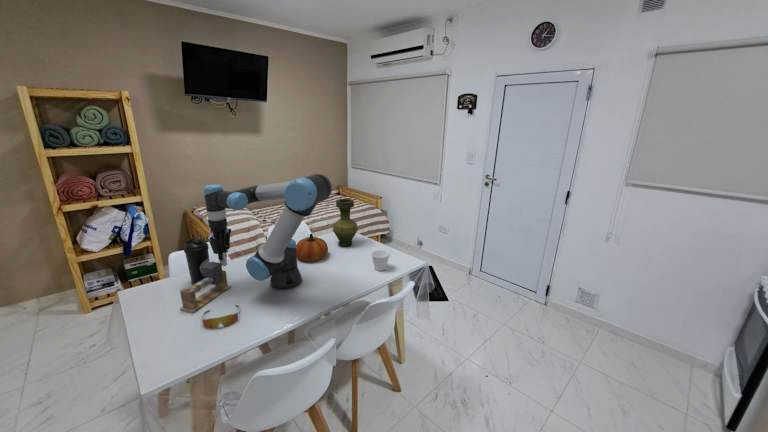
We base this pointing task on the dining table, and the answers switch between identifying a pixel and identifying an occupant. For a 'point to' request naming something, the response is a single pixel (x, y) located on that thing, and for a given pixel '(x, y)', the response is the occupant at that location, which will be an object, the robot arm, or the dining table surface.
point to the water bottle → (196, 258)
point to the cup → (380, 259)
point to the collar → (212, 271)
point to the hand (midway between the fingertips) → (223, 265)
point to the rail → (195, 304)
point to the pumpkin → (311, 248)
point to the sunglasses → (220, 320)
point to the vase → (345, 223)
